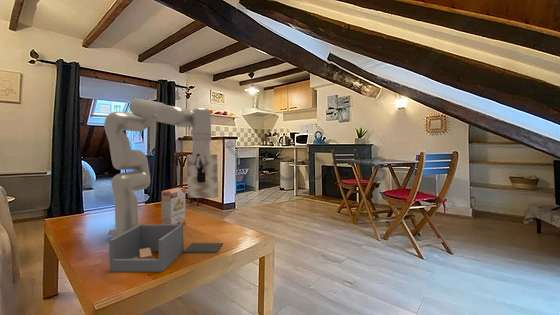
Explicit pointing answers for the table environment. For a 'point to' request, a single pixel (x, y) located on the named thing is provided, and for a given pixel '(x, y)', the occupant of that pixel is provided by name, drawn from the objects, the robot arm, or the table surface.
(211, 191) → the tall board
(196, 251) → the mat
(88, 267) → the table surface
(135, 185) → the robot arm
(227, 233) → the table surface
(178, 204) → the cracker box
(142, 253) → the upper offcut
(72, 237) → the table surface
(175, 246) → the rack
